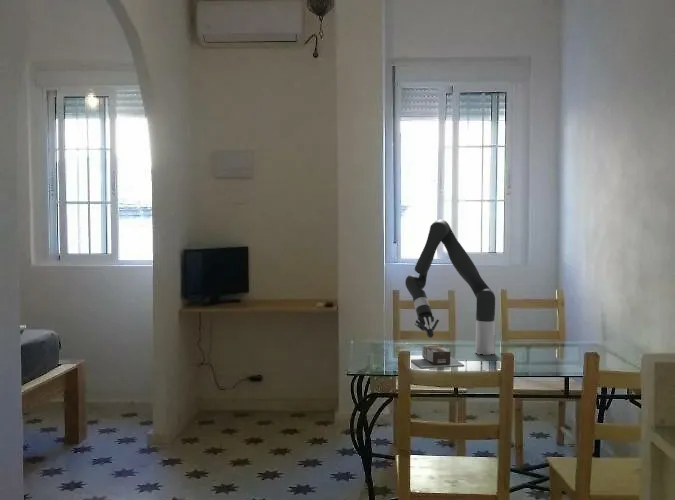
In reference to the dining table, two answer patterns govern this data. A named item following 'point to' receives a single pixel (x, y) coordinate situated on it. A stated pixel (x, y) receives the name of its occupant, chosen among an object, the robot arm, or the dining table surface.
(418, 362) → the mat
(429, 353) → the coffee box
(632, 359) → the dining table surface
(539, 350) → the dining table surface
